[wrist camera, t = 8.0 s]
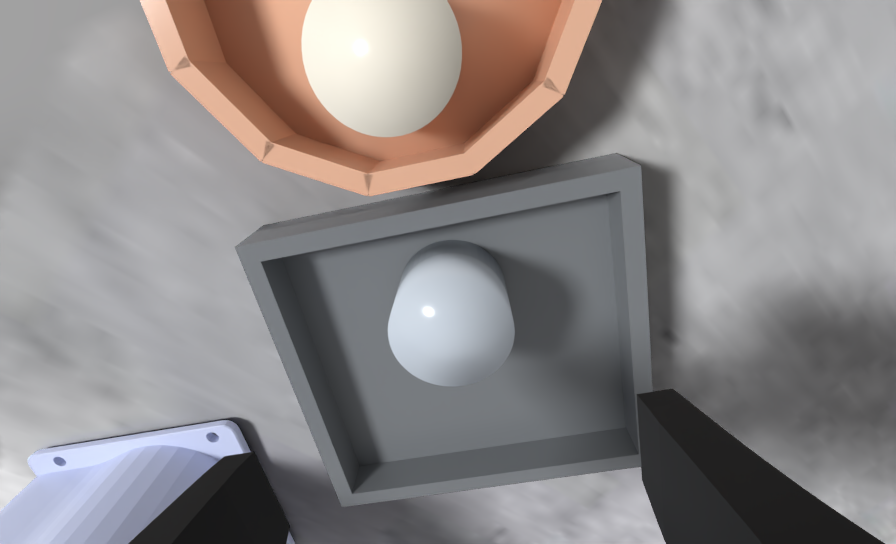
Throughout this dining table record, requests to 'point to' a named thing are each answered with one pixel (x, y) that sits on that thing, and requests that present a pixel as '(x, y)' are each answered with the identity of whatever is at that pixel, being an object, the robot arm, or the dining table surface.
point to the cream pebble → (382, 61)
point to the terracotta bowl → (334, 144)
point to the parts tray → (533, 352)
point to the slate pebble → (451, 315)
